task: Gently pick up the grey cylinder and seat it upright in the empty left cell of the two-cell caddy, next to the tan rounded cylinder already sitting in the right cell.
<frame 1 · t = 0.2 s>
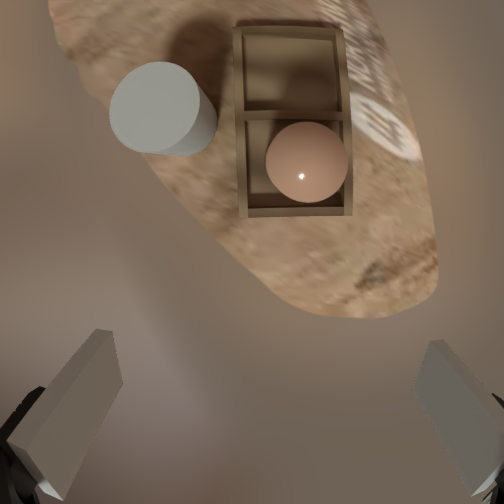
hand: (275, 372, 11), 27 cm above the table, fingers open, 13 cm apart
grey cylinder: (184, 123, 34), on the table
caddy: (291, 117, 34), on the table
tan rounded cylinder: (294, 163, 35), point 1 cm above the table, touching caddy
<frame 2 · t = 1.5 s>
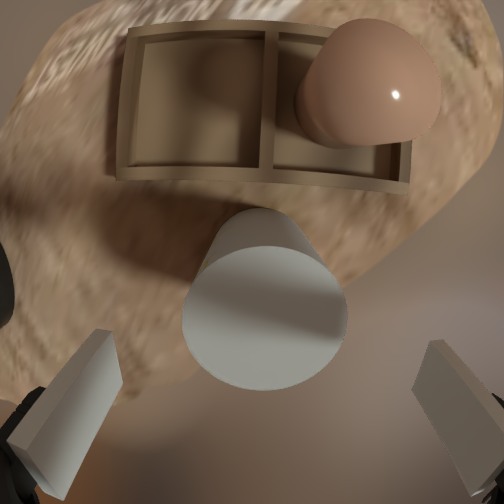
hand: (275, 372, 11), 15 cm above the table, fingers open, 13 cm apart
grey cylinder: (259, 255, 26), on the table
caddy: (267, 102, 23), on the table
tan rounded cylinder: (336, 107, 22), point 1 cm above the table, touching caddy
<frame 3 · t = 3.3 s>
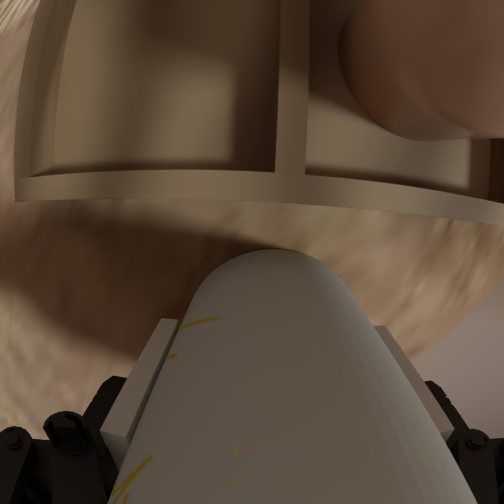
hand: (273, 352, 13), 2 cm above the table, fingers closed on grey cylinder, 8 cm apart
grey cylinder: (271, 329, 15), on the table, touching gripper
caddy: (288, 49, 11), on the table
tan rounded cylinder: (411, 67, 10), point 1 cm above the table, touching caddy
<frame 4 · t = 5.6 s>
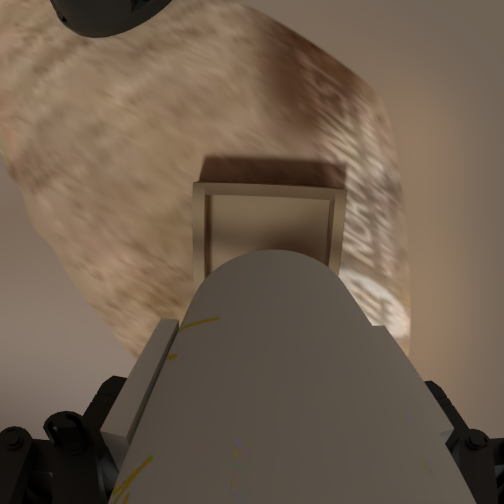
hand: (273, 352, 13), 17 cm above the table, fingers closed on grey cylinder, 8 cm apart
grey cylinder: (271, 329, 15), point 15 cm above the table, touching gripper
caddy: (263, 300, 31), on the table
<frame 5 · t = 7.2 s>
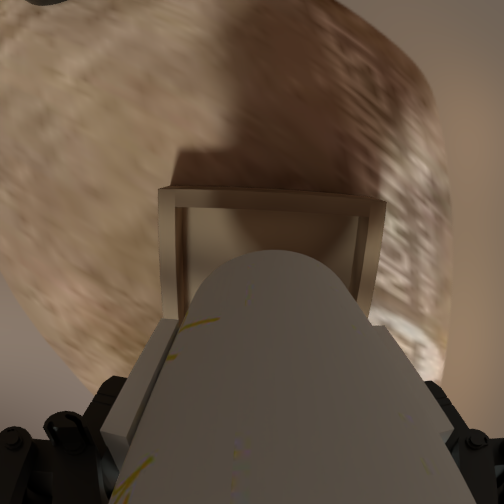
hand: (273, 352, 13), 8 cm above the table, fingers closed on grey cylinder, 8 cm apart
grey cylinder: (271, 330, 15), point 6 cm above the table, touching gripper
caddy: (262, 349, 22), on the table
when the fingers open (5 cm above the table, at t = 8.4 s): grey cylinder drops 2 cm, resting on caddy.
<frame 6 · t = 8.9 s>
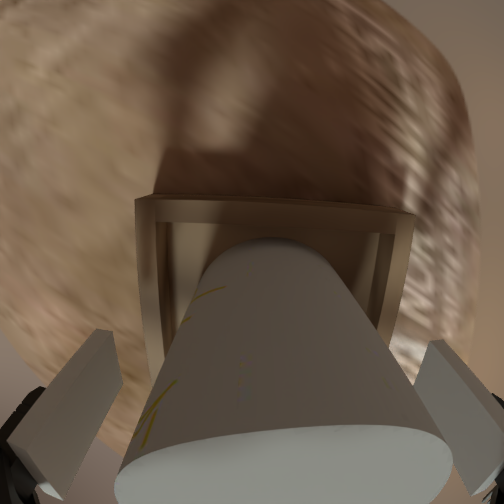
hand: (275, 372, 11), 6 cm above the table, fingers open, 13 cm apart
grey cylinder: (269, 309, 17), resting on caddy
caddy: (263, 382, 19), on the table
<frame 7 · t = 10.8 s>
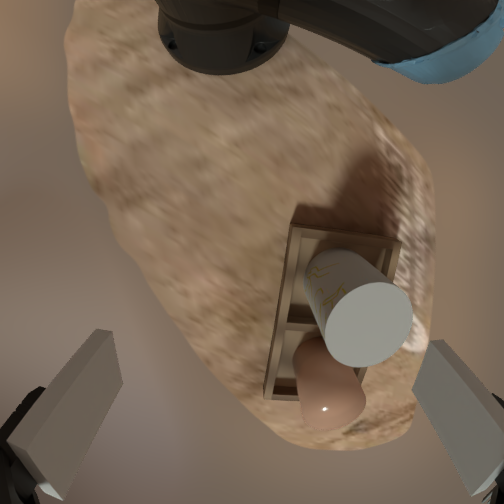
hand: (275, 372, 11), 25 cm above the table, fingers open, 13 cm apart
grey cylinder: (336, 280, 36), resting on caddy
caddy: (326, 320, 38), on the table
tan rounded cylinder: (318, 358, 38), point 1 cm above the table, touching caddy
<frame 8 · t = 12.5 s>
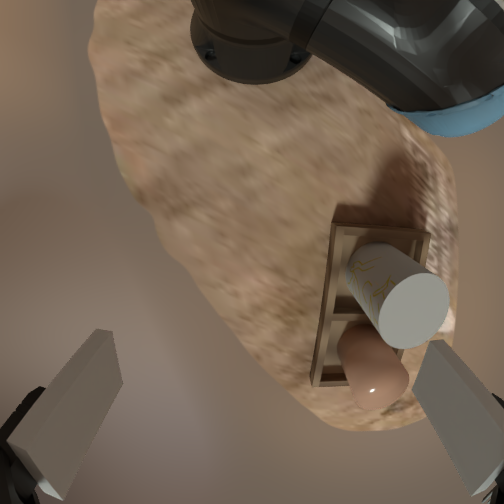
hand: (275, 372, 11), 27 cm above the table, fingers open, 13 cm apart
grey cylinder: (374, 271, 38), resting on caddy
caddy: (366, 308, 40), on the table
tan rounded cylinder: (359, 345, 41), point 1 cm above the table, touching caddy
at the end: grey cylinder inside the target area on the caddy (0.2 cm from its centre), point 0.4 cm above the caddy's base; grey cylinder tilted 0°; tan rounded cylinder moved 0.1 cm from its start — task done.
